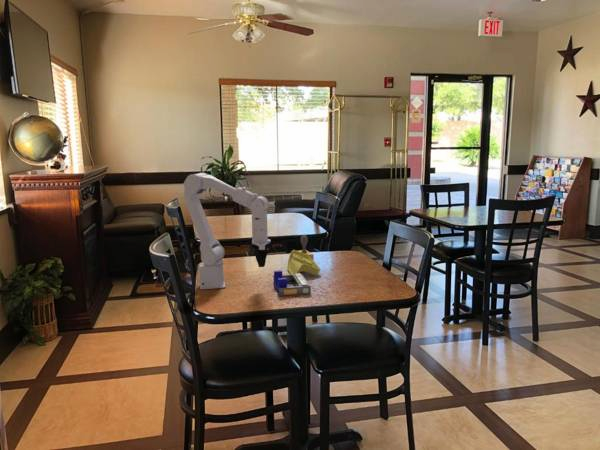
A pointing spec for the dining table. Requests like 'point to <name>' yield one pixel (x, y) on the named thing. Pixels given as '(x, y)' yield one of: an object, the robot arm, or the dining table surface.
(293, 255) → the plastic component
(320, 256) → the dining table surface
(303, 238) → the rubber stamp
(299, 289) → the rack
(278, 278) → the blue arched block
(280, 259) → the dining table surface
